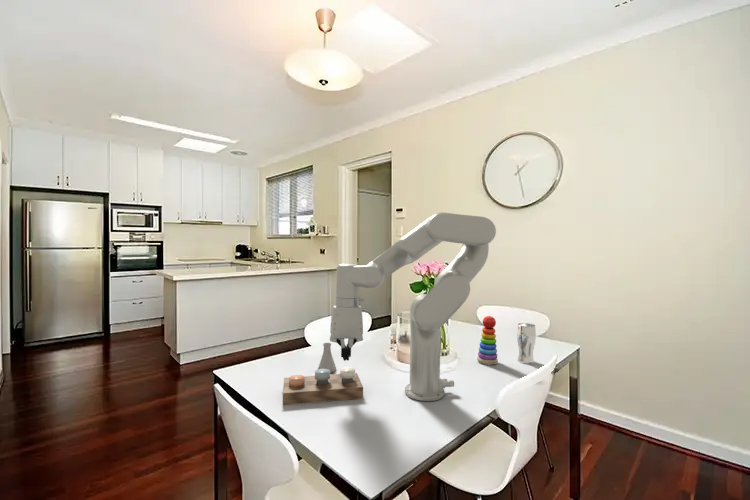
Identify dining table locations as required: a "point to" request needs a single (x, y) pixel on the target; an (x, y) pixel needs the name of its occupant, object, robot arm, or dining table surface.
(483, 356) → the stacking toy
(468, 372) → the dining table surface
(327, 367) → the flask
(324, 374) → the slate button
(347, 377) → the ivory button
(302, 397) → the button panel
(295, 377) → the terracotta button
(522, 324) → the beer glass
